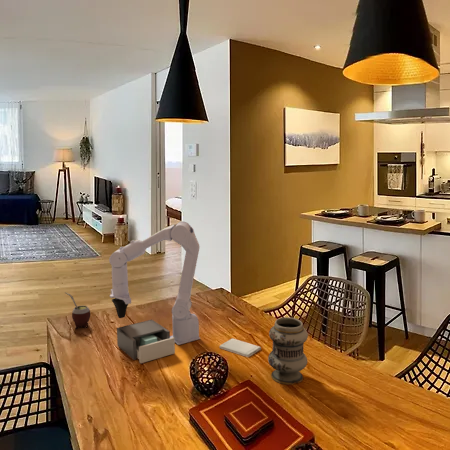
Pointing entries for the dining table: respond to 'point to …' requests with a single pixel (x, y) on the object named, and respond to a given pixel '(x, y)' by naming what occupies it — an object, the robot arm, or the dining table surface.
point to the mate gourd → (80, 315)
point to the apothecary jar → (287, 350)
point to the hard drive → (240, 347)
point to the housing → (138, 335)
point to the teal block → (147, 339)
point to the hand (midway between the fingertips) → (121, 317)
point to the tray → (154, 349)
